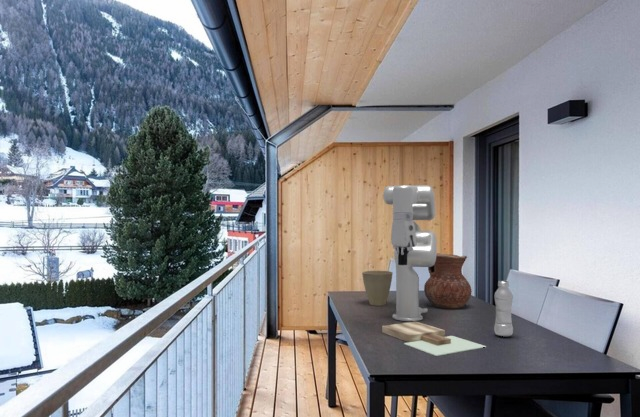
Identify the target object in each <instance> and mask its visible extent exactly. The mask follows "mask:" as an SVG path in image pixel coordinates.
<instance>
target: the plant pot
mask: <svg viewBox="0 0 640 417" xmlns="http://www.w3.org/2000/svg"><path fill="white" fill-rule="evenodd" d="M361 274H362V275H361V276H362V280H363V287H364V290H365V294H366V297H367V301H368V302H369V305H370V306H373V307H384V306H386V305H387V304H386V303H387V300H388V297H389V295H390V294H389V293H390V290H391V286H392V279H393V271H390V270H388V271H387V270H366V271H365V270H364V271H362V272H361Z"/></svg>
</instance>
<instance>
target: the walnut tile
mask: <svg viewBox="0 0 640 417" xmlns="http://www.w3.org/2000/svg"><path fill="white" fill-rule="evenodd" d="M446 337H447V336H445V337H443V336H440V335H436V334H430V335H424V336H421V340H422V341H425V342H428V343H431V344H434V345H437V346H439V345H444V344H450V343H451V339H449V338H446Z"/></svg>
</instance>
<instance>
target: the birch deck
mask: <svg viewBox="0 0 640 417" xmlns="http://www.w3.org/2000/svg"><path fill="white" fill-rule="evenodd" d="M381 327H382V329H381V330H382V333H383V334H385V335H388V336H390V337H393V338H397V339H399V340H402V341H404V342H406V343H408V342H415V341H421V336H424V335H430V334H436V335H440V336H443V337H446V332H445V331H446V330H445V329H441V328H438V327H435V326H433V325H428V324H425V323H422V322H419V321H407V322H403V323H402V322H401V323H394V324H386V325H382V326H381Z"/></svg>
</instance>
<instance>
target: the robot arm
mask: <svg viewBox="0 0 640 417" xmlns="http://www.w3.org/2000/svg"><path fill="white" fill-rule="evenodd" d="M382 193H383V194H382V198H383V201H384V203H385V204H386V205H388V206H389V205H392V223H391V224H392V225H391V231H390V232H391V233H390V241H391V242H390V243H391V245H392V249H394V251H393V252H394V253H393V255H394V264H395V278H396V279H395V280H396V284H395V285H396V286H395V289H396V290H395V292H396V293H395V296H396V297H395V299H396V302H395V306H396V307H395V308H396V309H395V313H393V314H392V319H393V320H395V321H396V320H397V321H400V322H402V321H403V322H419V321H423V319H424V318H423V315H422V314H425V313H428V311H429V310H428V308H427V307H423V308H421V307H420V277H419V274H418V273H417V271H415V269H414V268H428V267H432V266H433V265H434V264H435V262H436V254H437V246H438V245H437V244H438V241H437V240H438V239H437V236H436V233H435V232H433V231H431V230H421V227H420V226H419V224H417V222H415V221H431V220H433V219H435V217H436V200H435V192H434V189H433V187H432V186H431V185H427V184H424V185H423V184H422V185H421V184H420V185H419V184H418V185H410V184H405V185H404V184H403V185H388V186H385V188H384V189H383V192H382Z"/></svg>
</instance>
